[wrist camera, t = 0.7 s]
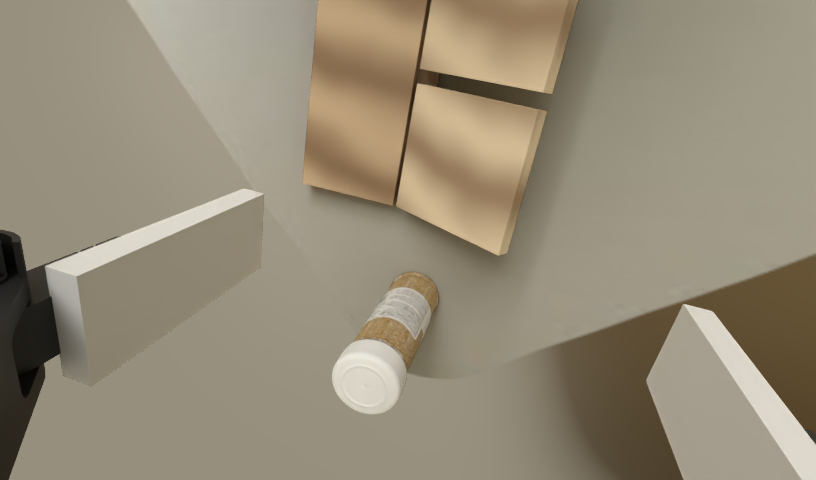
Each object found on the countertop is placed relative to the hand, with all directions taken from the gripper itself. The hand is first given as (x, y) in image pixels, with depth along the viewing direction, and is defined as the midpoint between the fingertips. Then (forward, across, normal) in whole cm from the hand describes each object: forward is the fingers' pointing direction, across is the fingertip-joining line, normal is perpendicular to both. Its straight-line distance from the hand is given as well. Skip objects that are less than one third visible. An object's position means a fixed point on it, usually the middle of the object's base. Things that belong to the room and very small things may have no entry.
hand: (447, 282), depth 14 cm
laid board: (+22, -11, +5) cm, 25 cm away
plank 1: (+19, -2, +10) cm, 22 cm away
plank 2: (+19, -2, 0) cm, 19 cm away
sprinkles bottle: (+22, -4, -13) cm, 26 cm away
